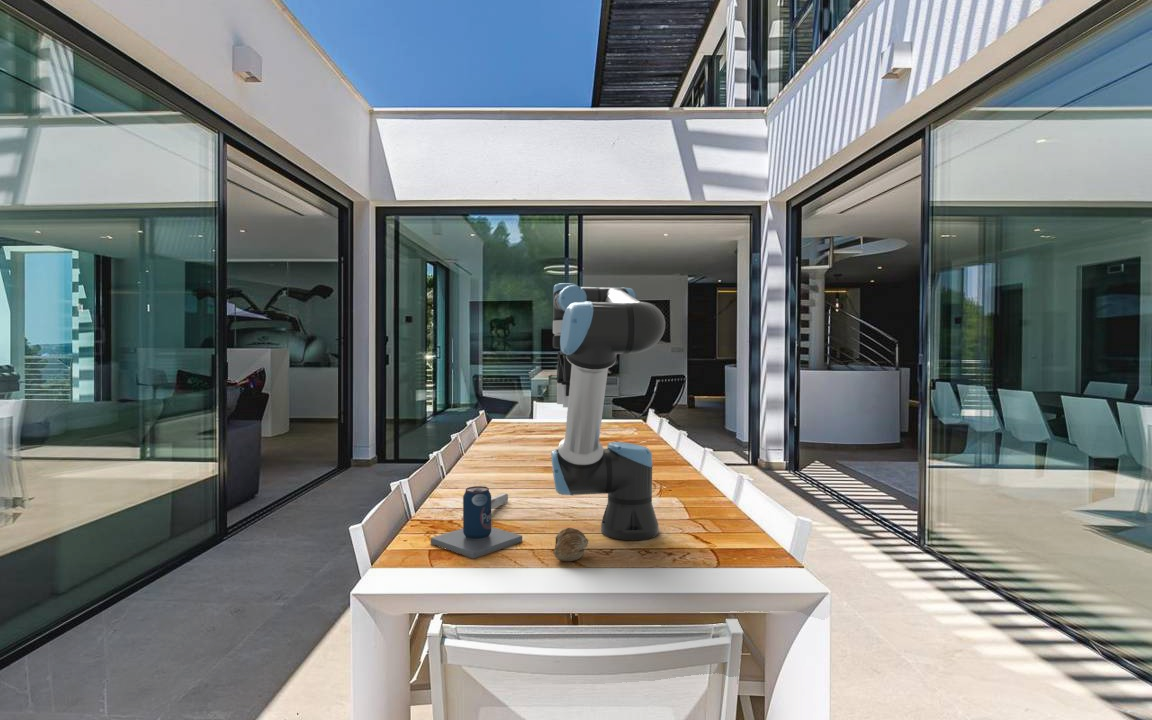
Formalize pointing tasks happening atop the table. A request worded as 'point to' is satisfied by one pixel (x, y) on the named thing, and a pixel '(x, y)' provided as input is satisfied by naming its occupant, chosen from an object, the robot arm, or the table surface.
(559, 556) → the seashell
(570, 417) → the robot arm
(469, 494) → the soda can
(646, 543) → the table surface
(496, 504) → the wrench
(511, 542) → the slate board
